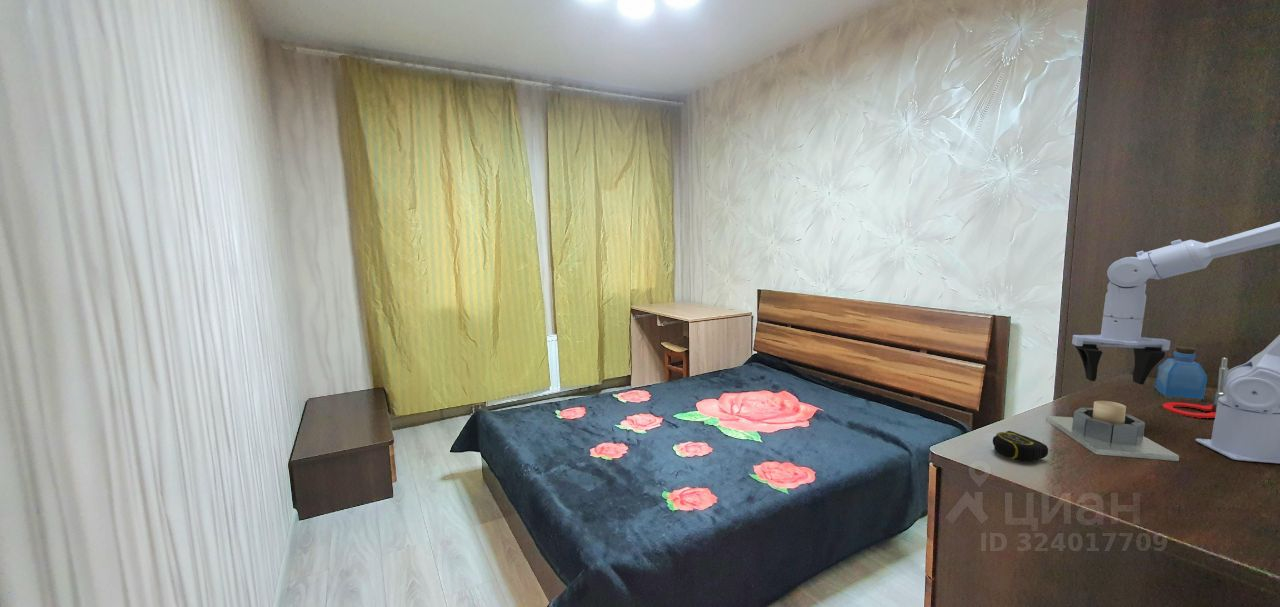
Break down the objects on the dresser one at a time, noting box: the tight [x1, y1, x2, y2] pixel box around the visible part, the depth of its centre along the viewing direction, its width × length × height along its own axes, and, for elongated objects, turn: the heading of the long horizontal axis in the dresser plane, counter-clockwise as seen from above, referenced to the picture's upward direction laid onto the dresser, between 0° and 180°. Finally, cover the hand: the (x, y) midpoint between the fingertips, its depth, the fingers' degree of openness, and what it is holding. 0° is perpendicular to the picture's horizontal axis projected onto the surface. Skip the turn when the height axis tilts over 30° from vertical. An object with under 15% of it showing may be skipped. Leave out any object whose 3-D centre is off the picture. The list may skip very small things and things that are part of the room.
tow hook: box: [1161, 357, 1229, 420], centre depth 102 cm, size 8×13×9 cm
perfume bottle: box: [1154, 345, 1208, 400], centre depth 112 cm, size 6×6×12 cm
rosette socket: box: [1045, 407, 1180, 462], centre depth 91 cm, size 12×16×4 cm
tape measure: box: [992, 430, 1049, 463], centre depth 85 cm, size 7×7×4 cm
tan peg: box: [1092, 400, 1127, 424], centre depth 91 cm, size 4×4×6 cm
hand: (1114, 381), depth 97 cm, fingers open, 7 cm apart
